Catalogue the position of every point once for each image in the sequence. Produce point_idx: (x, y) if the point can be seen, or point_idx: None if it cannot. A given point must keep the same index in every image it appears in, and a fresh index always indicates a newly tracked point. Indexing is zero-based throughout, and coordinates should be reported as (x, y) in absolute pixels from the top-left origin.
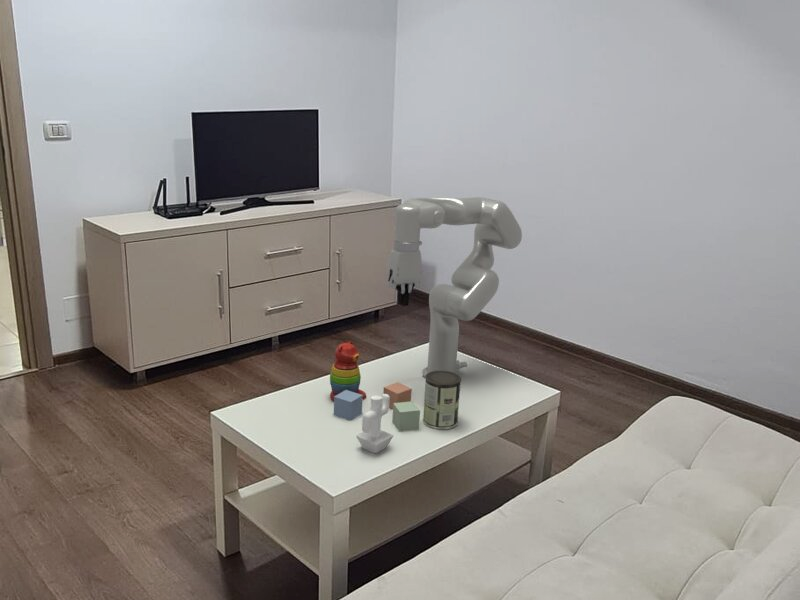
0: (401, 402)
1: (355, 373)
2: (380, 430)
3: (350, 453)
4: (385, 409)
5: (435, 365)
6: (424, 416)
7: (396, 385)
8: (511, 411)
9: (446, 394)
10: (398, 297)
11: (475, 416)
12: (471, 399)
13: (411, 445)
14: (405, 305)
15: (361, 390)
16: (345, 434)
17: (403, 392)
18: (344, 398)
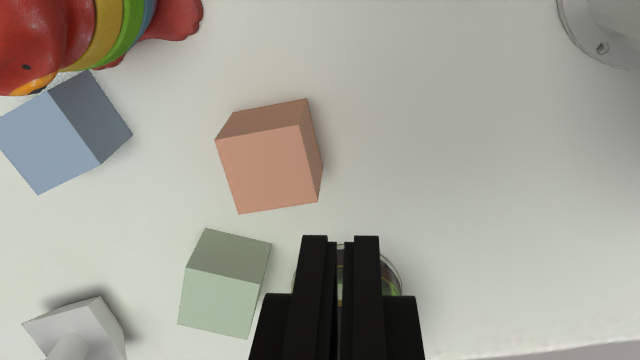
0: (216, 274)
1: (78, 69)
2: (100, 330)
3: (23, 311)
4: None
5: (615, 17)
6: (291, 291)
7: (274, 150)
8: (598, 336)
9: None
10: (255, 341)
11: (469, 312)
12: (561, 221)
13: (193, 347)
14: (338, 339)
15: (179, 2)
16: (36, 228)
17: (271, 207)
18: (19, 159)
